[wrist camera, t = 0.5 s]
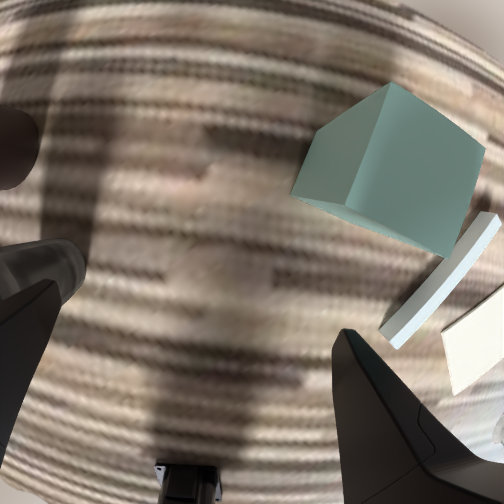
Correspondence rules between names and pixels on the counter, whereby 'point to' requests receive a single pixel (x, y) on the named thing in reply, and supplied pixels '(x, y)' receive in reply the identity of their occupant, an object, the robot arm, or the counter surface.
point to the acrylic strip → (441, 280)
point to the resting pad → (475, 342)
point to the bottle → (16, 146)
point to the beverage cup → (41, 266)
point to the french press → (499, 431)
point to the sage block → (394, 170)
